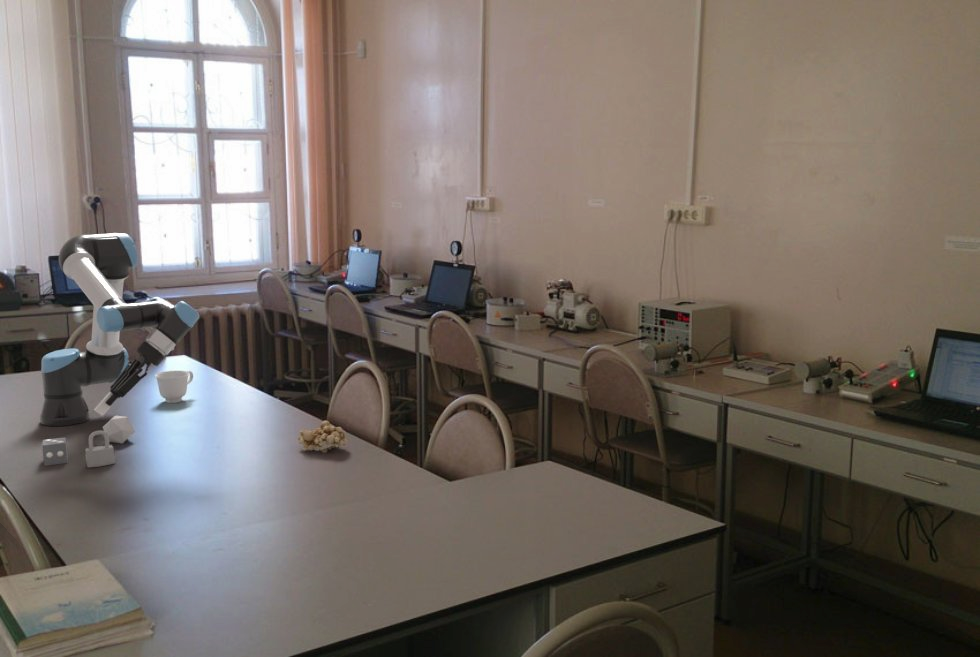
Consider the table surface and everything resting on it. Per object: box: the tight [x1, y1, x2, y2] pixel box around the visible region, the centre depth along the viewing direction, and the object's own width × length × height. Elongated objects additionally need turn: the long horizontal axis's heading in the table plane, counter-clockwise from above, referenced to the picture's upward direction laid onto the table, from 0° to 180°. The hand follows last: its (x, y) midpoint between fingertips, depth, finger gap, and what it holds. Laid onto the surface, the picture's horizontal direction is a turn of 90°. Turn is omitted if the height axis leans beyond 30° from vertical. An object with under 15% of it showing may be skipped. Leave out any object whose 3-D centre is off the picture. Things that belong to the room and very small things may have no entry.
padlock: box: [84, 430, 116, 469], centre depth 258 cm, size 7×4×10 cm, turn 121°
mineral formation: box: [297, 420, 348, 454], centre depth 271 cm, size 8×13×15 cm
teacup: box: [154, 370, 194, 404], centre depth 330 cm, size 12×15×10 cm
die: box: [102, 415, 136, 444], centre depth 280 cm, size 8×9×10 cm
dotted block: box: [41, 437, 68, 467], centre depth 261 cm, size 6×6×6 cm
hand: (98, 412), depth 256 cm, fingers closed
